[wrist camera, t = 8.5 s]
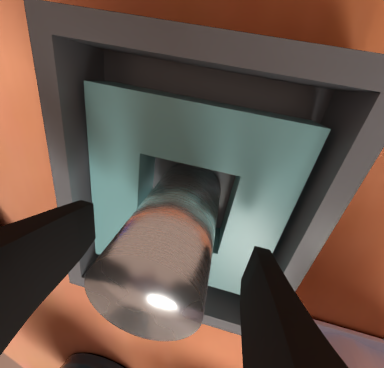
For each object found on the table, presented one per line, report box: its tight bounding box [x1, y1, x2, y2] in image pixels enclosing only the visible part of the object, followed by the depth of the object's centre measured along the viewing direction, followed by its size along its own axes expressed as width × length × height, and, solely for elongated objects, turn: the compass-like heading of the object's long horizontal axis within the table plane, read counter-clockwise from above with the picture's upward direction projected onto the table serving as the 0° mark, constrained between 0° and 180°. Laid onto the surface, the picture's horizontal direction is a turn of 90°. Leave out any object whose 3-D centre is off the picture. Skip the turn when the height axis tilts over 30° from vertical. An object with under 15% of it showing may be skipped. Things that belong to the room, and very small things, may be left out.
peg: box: [84, 163, 221, 341], centre depth 10 cm, size 4×4×8 cm
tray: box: [24, 0, 384, 335], centre depth 12 cm, size 14×16×4 cm
